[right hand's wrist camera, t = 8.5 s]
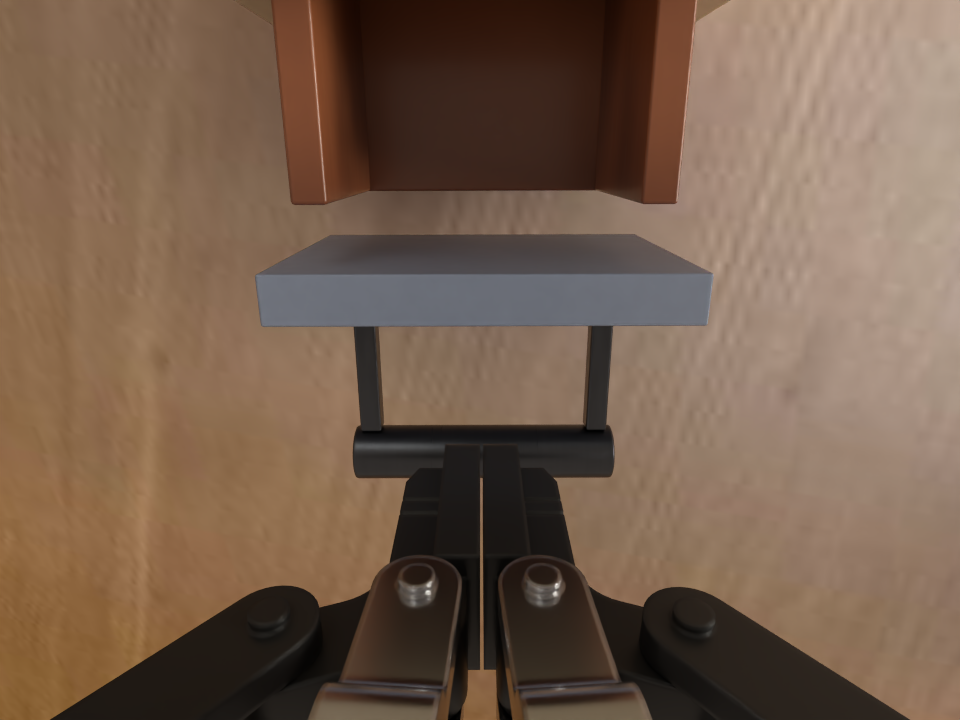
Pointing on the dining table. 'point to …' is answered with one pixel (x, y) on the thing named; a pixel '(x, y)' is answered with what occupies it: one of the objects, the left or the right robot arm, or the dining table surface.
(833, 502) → the dining table surface
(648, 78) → the drawer
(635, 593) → the dining table surface
